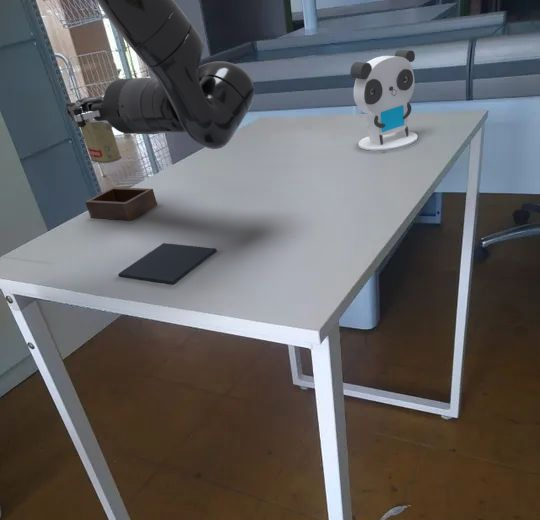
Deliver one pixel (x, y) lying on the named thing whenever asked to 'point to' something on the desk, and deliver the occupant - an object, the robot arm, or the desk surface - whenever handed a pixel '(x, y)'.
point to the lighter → (100, 141)
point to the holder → (121, 203)
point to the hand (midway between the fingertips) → (79, 107)
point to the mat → (167, 263)
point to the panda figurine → (385, 99)
